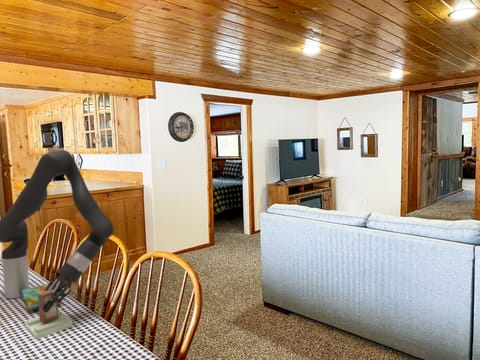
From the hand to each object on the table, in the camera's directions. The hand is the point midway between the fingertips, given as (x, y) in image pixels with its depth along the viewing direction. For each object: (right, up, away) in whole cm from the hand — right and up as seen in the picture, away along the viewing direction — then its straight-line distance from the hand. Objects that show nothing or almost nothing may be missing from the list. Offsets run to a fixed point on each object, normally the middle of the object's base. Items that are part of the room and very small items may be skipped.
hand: (42, 309), depth 126 cm
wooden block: (+1, -4, +2) cm, 5 cm away
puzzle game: (-13, -6, +23) cm, 27 cm away
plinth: (+1, -7, +2) cm, 7 cm away
